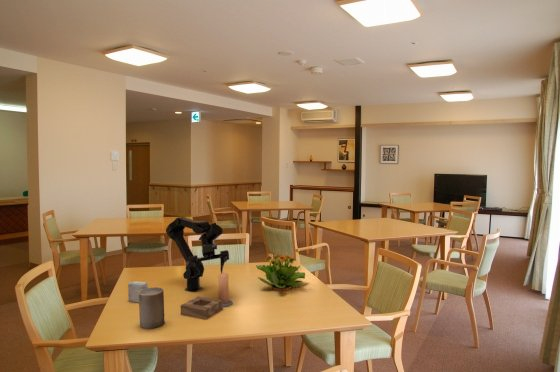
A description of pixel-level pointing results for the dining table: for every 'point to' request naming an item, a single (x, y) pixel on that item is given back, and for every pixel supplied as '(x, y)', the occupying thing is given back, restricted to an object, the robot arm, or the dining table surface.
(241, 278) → the dining table surface
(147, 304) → the pillar candle
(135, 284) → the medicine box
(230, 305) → the coaster
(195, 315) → the pocket block
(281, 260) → the potted flower
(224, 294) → the peg
